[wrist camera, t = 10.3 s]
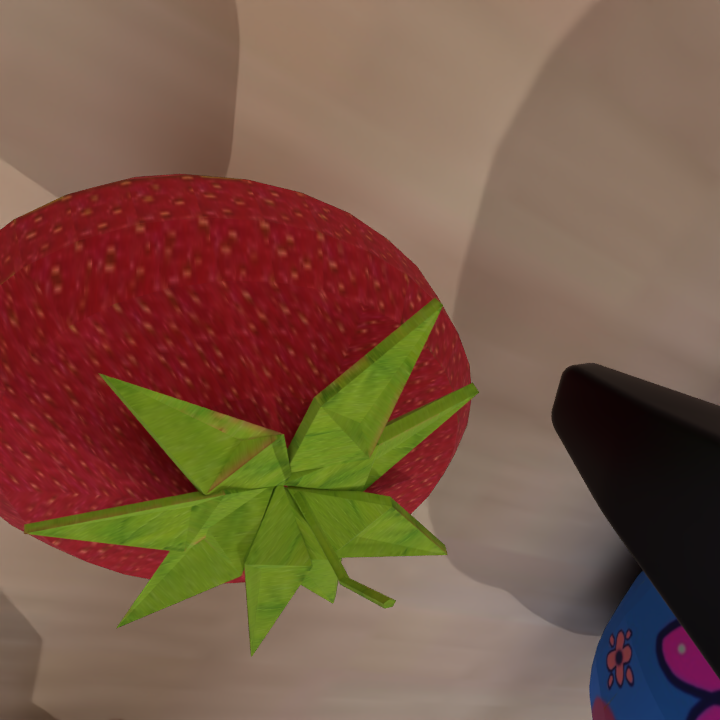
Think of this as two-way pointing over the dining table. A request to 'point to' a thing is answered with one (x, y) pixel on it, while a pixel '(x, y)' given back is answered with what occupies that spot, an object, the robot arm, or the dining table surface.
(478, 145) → the dining table surface
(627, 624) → the ceramic pot
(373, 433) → the strawberry
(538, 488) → the dining table surface
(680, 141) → the dining table surface
